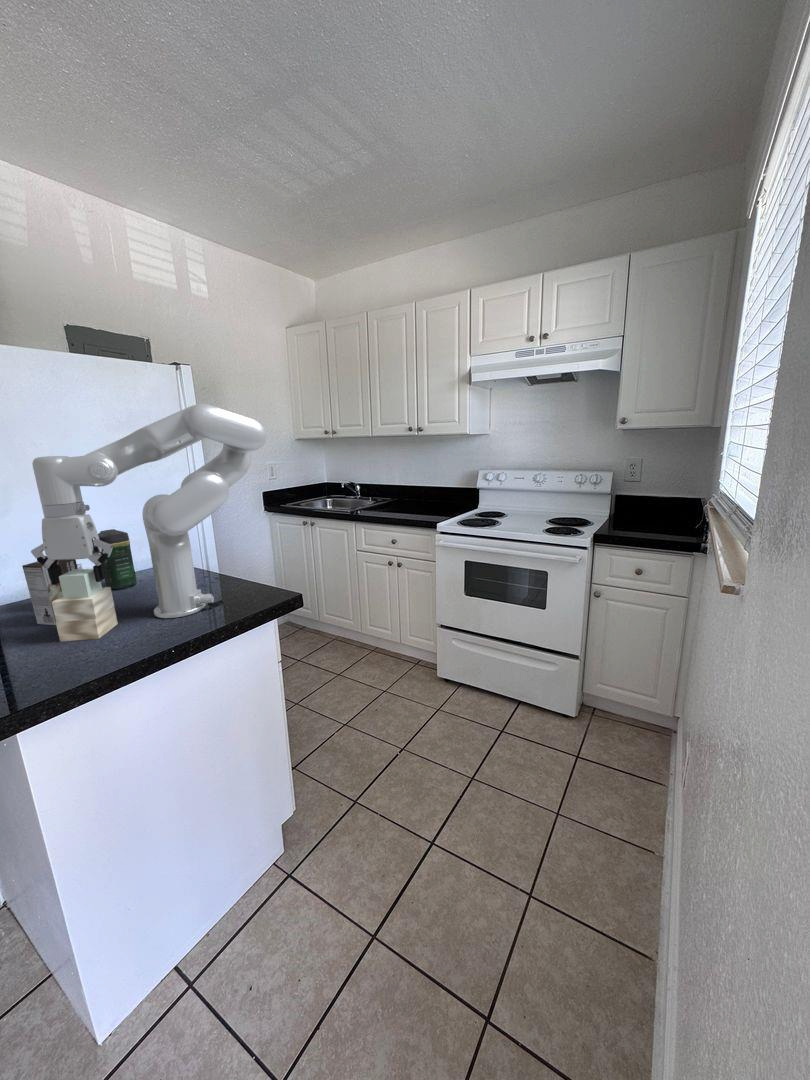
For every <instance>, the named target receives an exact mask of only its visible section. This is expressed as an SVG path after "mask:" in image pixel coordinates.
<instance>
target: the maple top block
mask: <svg viewBox="0 0 810 1080" xmlns="http://www.w3.org/2000/svg"><path fill="white" fill-rule="evenodd" d="M52 606H53V610H54V614H55V619H56V622H66V621H77V620H89V619H97V618H98V617H100V616H101V615H102V614H104V613H105V612H106V611H108V610H109V609H110V608H112V607H113V606H114V607H115V601H114V596H113V593H112V589H111V587H107V586H105V587H103V586H102V590H101V591H99V592H97V593H96V594H94V595H92V596H90V597H87V598H72V599H64V598H63V596H61V597H60V598H58V599H56V600H54V601H53V602H52Z"/></svg>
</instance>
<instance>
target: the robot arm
mask: <svg viewBox="0 0 810 1080" xmlns="http://www.w3.org/2000/svg"><path fill="white" fill-rule="evenodd" d="M204 439H208V440H211V441H214V442H218V443H220V444H223V445H222V448H221V450H220V452H219V453H218V454H217V455H216V456H215V457H213V458H212V459H211V460H210V461H208V462H207V463H205V464H203V465H202V466H201V467H199V468H198V469H196V470H195V471H192V472H191V473H189V474H188V475H186V476H185V477H184V478H183V480H182V482H181V483H180V488H177V490H175V491H174V492H172V493H170V494H156V495H154V496H152V497H150V498H149V499H148V500H147V501H145V503H144V505H143V509H142V522H143V525H144V529H145V533H146V536H147V537H146V538H147V541H148V547H149V553H150V559H151V563H152V564H151V565H152V569H153V576H154V583H155V588H156V592H157V599H158V605H157V606H156V607H155V608H154V609H153V615H154V616H155V617H157V618H160V619H175V618H180V617H186V616H190V615H193V614H195V613H198V612H200V611H201V610H203V609H204V608H205V607H206V604H211V603H214V601H215V597H214V595H213V594H212V593H202V590H201V589H200V588H199V589H198V588H197V582H196V581H197V580H196V574H195V567H194V560H193V554H192V553H193V552H192V546H191V541H190V535H189V531H190V530H192V529H193V528H195V527H196V526H197V525H199V524H200V523H202V522H203V521H205V520H206V519H207V518H209V516H212V515H213V513H215V512H216V511H218V510H219V509H221V507H222V506H223V505H224V504H225V503H226V501H227V499H228V497H229V493H230V491H229V489H230V488H231V487H232V486H233V485H235V484H236V483H237V482H238V481H239V480H240V479H242V478H243V477H244V476H245V475H246V474H247V473H248V471H249V469H250V465H251V462H252V456H253V452H255V451H258V450H260V449H261V448H262V447H264V445H265V443H266V441H267V431H266V429H265V427H264V426H263V425H262V424H261V423H260V422H259V421H258V420H256V419H254V418H253V417H249V416H246V415H242V414H240V413H237V412H234V411H230V410H227V409H223V408H221V407H218V406H215V405H212V404H208V403H198V404H194V405H190V406H188V407H186V408H183V409H180V410H179V411H176V412H173V413H172V414H170V415H168V416H166V417H163V418H161V419H158V420H157V421H153V422H152V423H149V424H147V425H145V426H143V427H141V428H139V429H136V430H134V431H133V432H132V433H130V434H128V435H125V436H124V437H121V438H119V439H118V440H116V441H113V442H111V443H109V444H106V445H104V446H102V447H99V448H98V449H95V450H93V451H90V452H88V453H86V454H84V455H79V456H68V455H50V456H39V457H36V458H34V459H33V460H32V470H33V473H34V474H33V475H34V478H35V482H36V486H37V487H36V488H37V491H38V496H39V499H40V504H41V508H42V514H43V518H41V536H42V537H41V538H42V543H41V544H40V545H38V546H36V547H34V548H33V549H31V550H30V553H31V554H32V556H33V557H34V558H35V559H36V562H37V561H38V562H39V563H41V564H42V565H44V568H45V569H48V574H49V578H50V580H51V584H52V585H56V584H58V583H60V580H59V576H61V575H62V571H61V567H60V565H57V563H58V562H59V560H73V559H76V560H85V559H88V560H89V561H90V562H91V563H92V564H94V565H93V566H92V569H93V570H94V575H95V580H96V582H101V583H102V581H105V579H106V575H107V573H106V568H105V562H106V561H107V559H108V558H109V557H110V556H111V552H112V549H113V545H111V544H108V543H106V542H103V541H101V540H99V536H98V533H99V532H98V531H97V528H96V525H95V523H94V520H93V519H92V517H91V515H90V514H86V513H87V512H86V511H89V510H90V509H91V508H90V505H89V504H85V502H84V501H83V496H82V495H83V494H82V491H81V487H96V488H97V487H99V488H100V487H106V486H109V485H111V484H112V483H114V482H115V481H116V479H117V478H118V476H119V475H122V474H125V472H129V471H130V470H132V469H135V468H137V467H139V466H142V465H145V464H149V463H153V462H157V461H161V460H164V459H166V458H167V457H170V456H171V455H174V454H176V453H177V452H179V451H180V452H181V450H183V449H186V448H188V447H190V446H193V445H194V444H196V443H198V442H201V441H203V440H204ZM101 548H102V549H103V550H104V551H103V554H102V555H101V554H100V553H101V551H102V549H101ZM44 553H45V554H44Z"/></svg>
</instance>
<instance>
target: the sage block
mask: <svg viewBox="0 0 810 1080" xmlns="http://www.w3.org/2000/svg"><path fill="white" fill-rule="evenodd" d="M59 580H60V585H61V589H62V593H63V598H64V599H72V598H87V597H90V596H92V595H94V594H96V593H97V592H99V591H101V590H102V587H103V585H102V581H101V582H96V580H95V575H94V570H93V568H82V569H76V570H72V571H70V572H68V573H65V574H63V575H61V576H59Z"/></svg>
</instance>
